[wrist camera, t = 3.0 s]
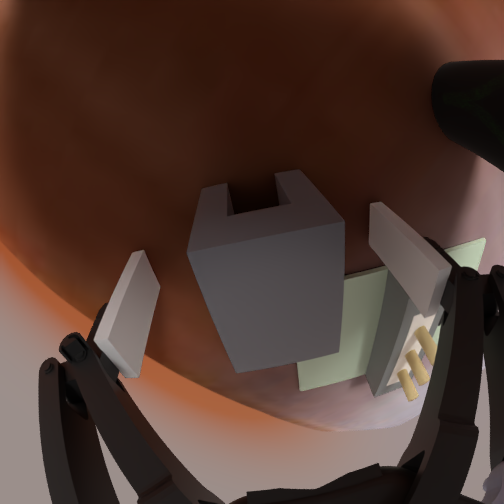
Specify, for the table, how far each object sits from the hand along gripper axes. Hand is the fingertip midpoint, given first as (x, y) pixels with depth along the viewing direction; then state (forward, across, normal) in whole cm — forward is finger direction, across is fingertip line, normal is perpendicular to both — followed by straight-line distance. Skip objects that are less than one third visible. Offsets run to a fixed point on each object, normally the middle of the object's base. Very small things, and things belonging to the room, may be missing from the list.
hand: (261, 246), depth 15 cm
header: (0, +10, -11) cm, 15 cm away
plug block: (0, 0, 0) cm, 1 cm away
